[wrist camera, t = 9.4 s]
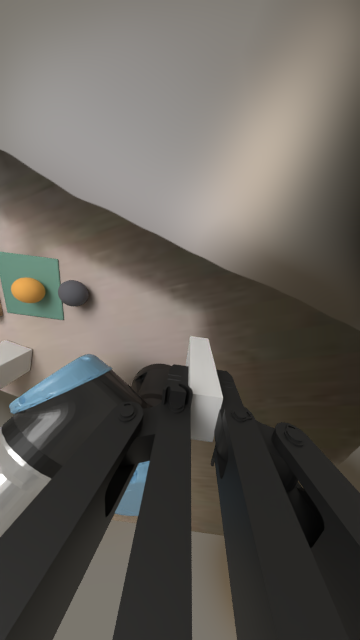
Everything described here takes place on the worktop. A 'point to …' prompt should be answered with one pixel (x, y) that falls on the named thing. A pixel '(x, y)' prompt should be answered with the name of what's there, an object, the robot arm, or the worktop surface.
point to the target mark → (36, 268)
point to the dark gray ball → (73, 293)
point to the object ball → (28, 290)
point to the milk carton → (13, 361)
